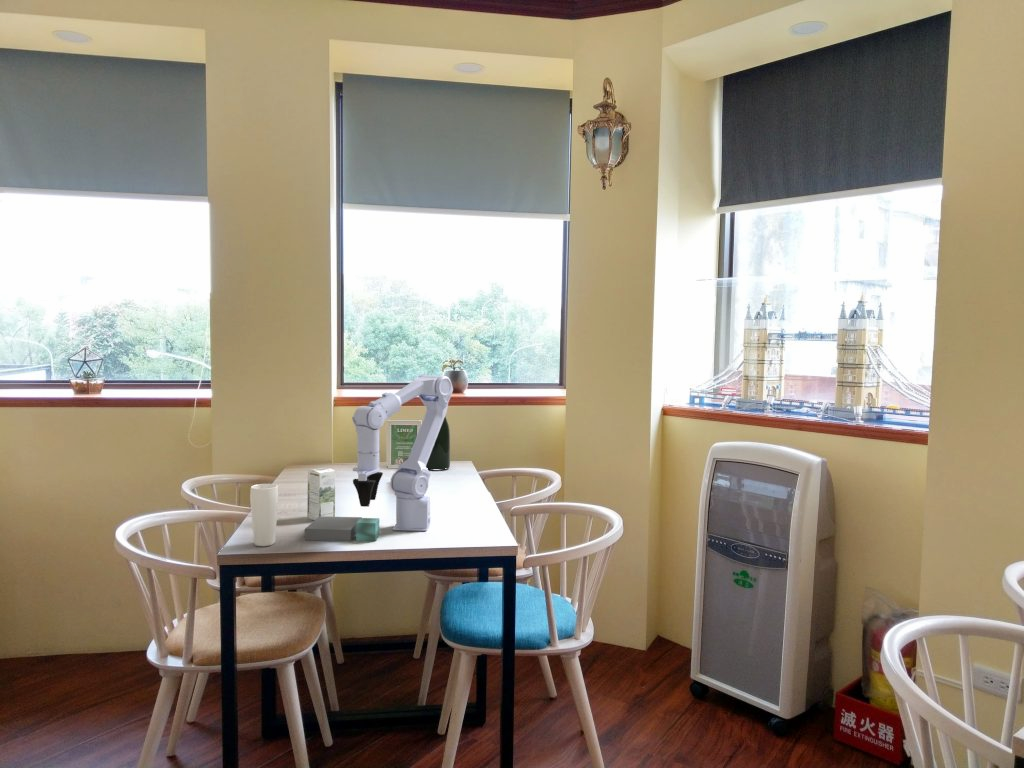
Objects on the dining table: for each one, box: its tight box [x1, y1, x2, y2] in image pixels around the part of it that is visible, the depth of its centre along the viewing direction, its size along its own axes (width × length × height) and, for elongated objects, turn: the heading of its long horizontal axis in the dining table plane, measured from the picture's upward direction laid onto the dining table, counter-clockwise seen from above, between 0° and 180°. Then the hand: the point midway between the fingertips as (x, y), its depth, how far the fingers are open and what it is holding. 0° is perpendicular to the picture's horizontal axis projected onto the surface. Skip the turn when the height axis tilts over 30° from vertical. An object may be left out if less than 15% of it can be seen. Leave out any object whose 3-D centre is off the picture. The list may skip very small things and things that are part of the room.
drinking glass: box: [249, 483, 279, 547], centre depth 183 cm, size 7×7×15 cm
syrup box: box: [307, 467, 336, 521], centre depth 210 cm, size 6×6×14 cm
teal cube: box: [355, 517, 380, 543], centre depth 190 cm, size 5×5×5 cm
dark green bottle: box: [426, 415, 451, 469], centre depth 292 cm, size 10×10×33 cm
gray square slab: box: [304, 516, 363, 542], centre depth 195 cm, size 12×13×3 cm
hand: (368, 502), depth 190 cm, fingers open, 7 cm apart
